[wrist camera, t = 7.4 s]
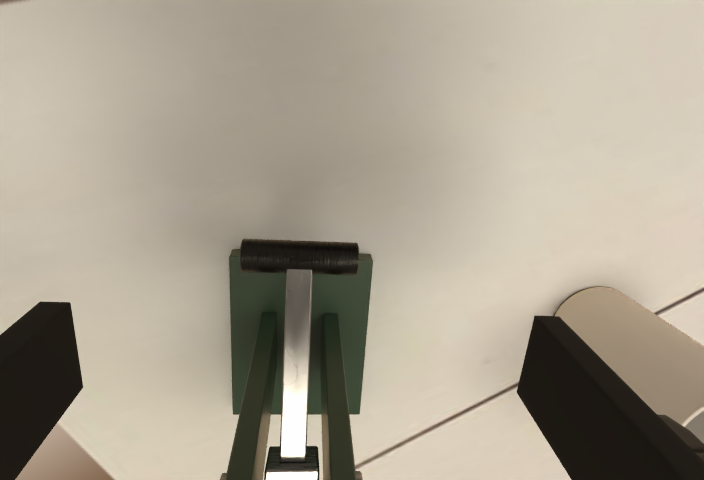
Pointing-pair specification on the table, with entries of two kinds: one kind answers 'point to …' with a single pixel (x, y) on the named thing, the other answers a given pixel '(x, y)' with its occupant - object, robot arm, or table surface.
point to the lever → (296, 338)
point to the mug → (642, 352)
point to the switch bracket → (324, 364)
